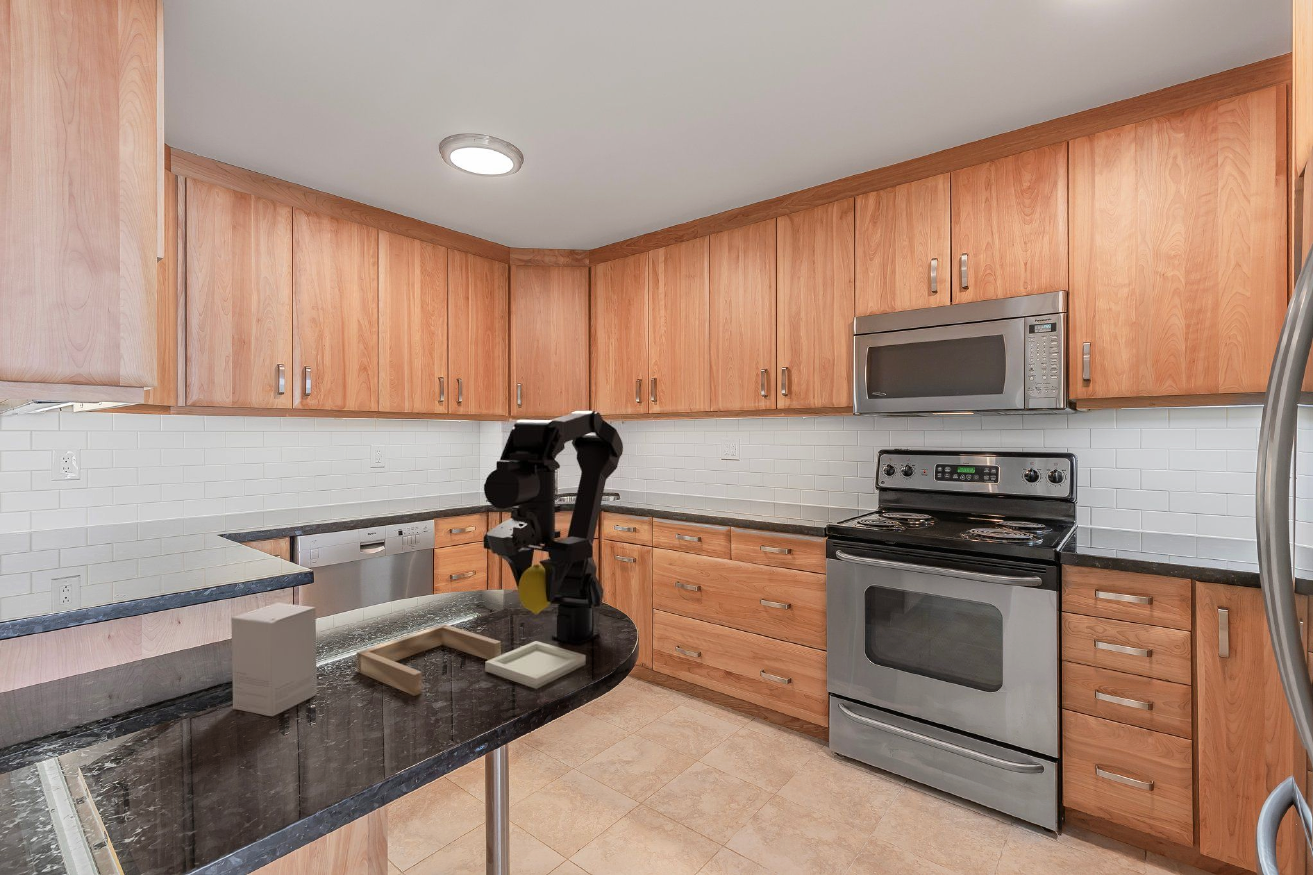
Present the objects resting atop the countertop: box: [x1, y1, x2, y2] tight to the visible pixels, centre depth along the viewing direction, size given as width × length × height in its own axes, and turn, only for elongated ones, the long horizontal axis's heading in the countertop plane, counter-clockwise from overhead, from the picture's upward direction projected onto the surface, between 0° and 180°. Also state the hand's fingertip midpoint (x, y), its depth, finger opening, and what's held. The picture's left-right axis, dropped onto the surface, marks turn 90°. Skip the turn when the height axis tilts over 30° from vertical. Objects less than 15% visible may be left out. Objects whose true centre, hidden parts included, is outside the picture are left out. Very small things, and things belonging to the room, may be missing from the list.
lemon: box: [517, 563, 551, 615], centre depth 98 cm, size 6×6×8 cm
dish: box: [484, 640, 586, 690], centre depth 98 cm, size 11×11×2 cm
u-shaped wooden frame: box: [356, 623, 502, 697], centre depth 98 cm, size 16×15×3 cm
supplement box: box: [230, 602, 318, 717], centre depth 85 cm, size 7×7×13 cm
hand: (536, 598), depth 98 cm, fingers closed on lemon, 6 cm apart
